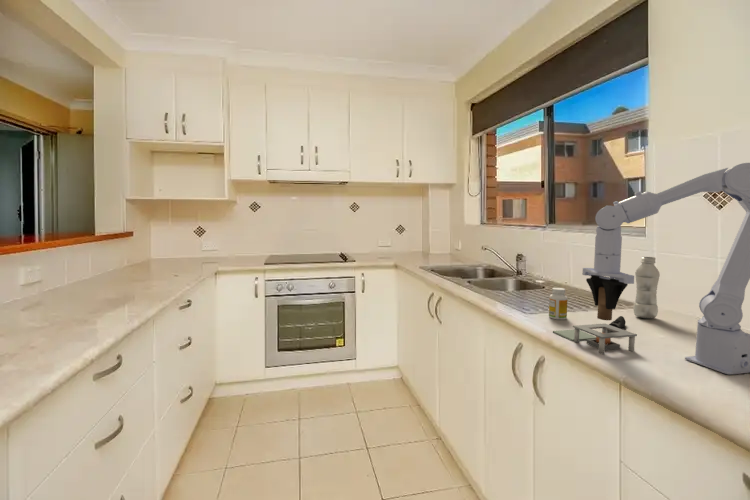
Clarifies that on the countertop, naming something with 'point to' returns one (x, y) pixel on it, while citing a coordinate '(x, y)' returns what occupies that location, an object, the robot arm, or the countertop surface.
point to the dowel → (603, 306)
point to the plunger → (607, 340)
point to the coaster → (570, 335)
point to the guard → (604, 336)
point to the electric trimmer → (617, 324)
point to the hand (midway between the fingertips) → (604, 307)
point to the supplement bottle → (558, 304)
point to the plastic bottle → (646, 289)
